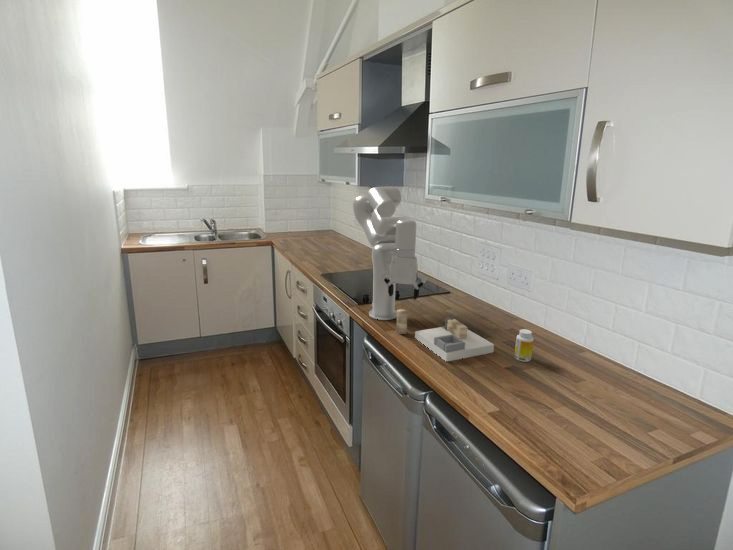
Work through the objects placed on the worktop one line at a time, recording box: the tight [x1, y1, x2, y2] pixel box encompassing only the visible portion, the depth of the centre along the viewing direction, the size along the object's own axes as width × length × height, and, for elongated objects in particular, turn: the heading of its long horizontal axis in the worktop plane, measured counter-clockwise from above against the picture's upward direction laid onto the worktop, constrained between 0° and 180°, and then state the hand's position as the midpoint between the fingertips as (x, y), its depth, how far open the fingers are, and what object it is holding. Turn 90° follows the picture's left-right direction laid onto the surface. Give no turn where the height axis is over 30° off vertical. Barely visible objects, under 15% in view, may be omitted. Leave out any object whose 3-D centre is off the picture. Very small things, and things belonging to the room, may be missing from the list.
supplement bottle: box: [513, 328, 535, 363], centre depth 153 cm, size 6×6×10 cm
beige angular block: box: [444, 316, 469, 338], centre depth 167 cm, size 12×3×4 cm, turn 21°
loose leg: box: [395, 308, 409, 335], centre depth 173 cm, size 4×4×9 cm
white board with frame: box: [414, 326, 495, 362], centre depth 163 cm, size 21×20×6 cm
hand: (403, 296), depth 170 cm, fingers open, 9 cm apart
